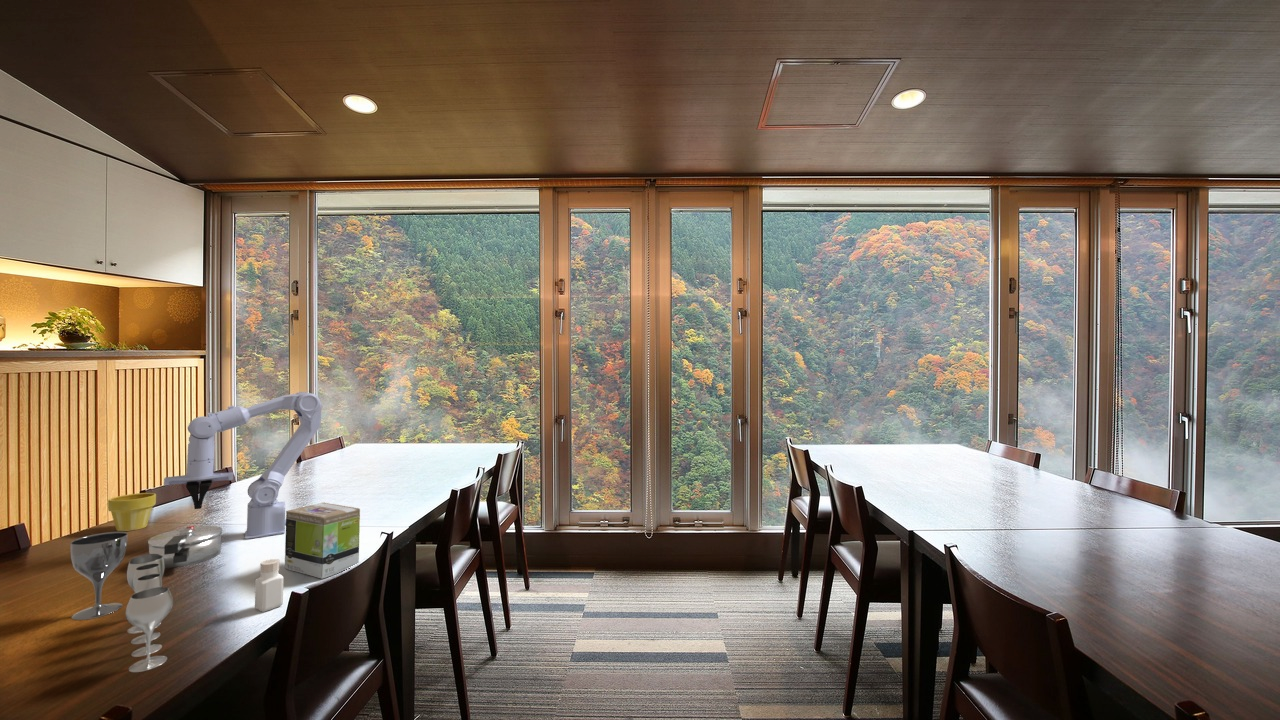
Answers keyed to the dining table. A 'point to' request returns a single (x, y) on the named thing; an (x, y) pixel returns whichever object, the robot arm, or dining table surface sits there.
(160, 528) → the dining table surface
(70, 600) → the dining table surface
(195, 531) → the cooker lid
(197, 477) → the robot arm
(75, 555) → the wine glass
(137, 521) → the plant pot
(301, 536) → the tea box
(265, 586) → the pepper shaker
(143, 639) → the goblet set
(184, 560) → the cooker pot
